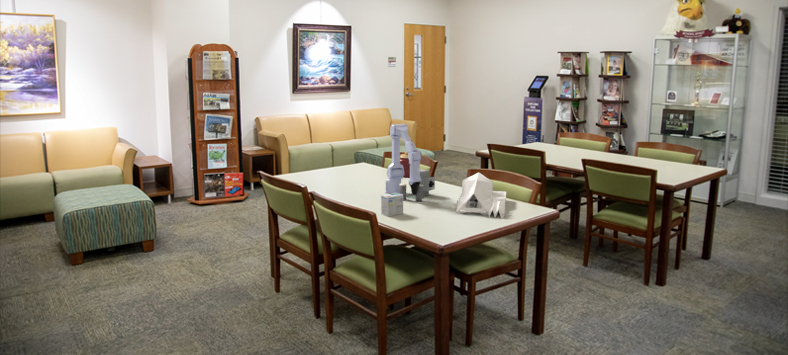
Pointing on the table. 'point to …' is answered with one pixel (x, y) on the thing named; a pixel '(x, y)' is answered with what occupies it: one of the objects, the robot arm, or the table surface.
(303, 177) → the table surface
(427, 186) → the circuit breaker
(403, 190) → the post left
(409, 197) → the pad
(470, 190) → the white faceted model
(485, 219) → the table surface
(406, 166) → the canister
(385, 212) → the light bulb box
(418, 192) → the post right
